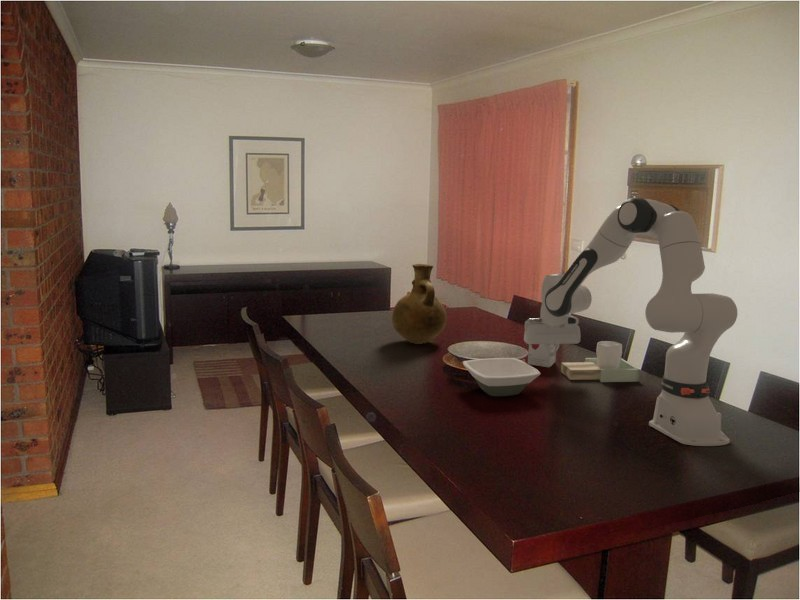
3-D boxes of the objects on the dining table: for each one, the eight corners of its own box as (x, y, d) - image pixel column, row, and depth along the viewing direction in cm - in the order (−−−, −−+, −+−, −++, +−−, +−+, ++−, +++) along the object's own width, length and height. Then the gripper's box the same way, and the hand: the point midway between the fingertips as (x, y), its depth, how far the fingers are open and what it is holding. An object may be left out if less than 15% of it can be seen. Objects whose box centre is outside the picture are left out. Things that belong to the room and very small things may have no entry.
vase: (455, 347, 271) (457, 266, 265) (403, 352, 262) (404, 268, 256) (432, 335, 293) (433, 260, 287) (383, 339, 284) (384, 262, 278)
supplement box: (526, 364, 246) (528, 327, 243) (533, 359, 254) (535, 323, 251) (550, 367, 242) (552, 329, 239) (555, 362, 250) (557, 325, 247)
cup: (620, 379, 228) (623, 347, 225) (594, 377, 230) (597, 345, 228) (619, 373, 236) (621, 341, 234) (594, 370, 239) (596, 340, 236)
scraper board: (602, 380, 228) (603, 369, 228) (570, 380, 227) (570, 370, 226) (591, 372, 238) (592, 362, 237) (560, 372, 237) (561, 362, 236)
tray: (638, 381, 226) (639, 369, 225) (600, 382, 225) (601, 369, 224) (619, 369, 241) (620, 357, 241) (584, 369, 240) (585, 358, 239)
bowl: (482, 404, 200) (483, 379, 198) (457, 383, 221) (457, 360, 220) (545, 399, 206) (546, 374, 204) (514, 379, 227) (515, 356, 226)
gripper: (527, 320, 223) (525, 358, 225) (583, 319, 225) (581, 357, 227) (522, 316, 229) (520, 354, 231) (576, 316, 231) (574, 353, 233)
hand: (551, 355), depth 229 cm, fingers closed
